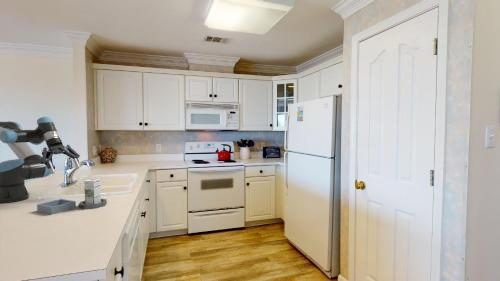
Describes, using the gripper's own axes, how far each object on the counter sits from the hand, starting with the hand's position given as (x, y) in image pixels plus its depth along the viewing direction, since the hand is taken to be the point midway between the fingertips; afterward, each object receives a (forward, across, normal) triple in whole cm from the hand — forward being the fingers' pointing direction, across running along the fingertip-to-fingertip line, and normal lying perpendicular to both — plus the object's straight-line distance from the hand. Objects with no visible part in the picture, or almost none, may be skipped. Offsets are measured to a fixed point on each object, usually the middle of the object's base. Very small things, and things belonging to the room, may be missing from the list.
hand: (66, 170), depth 159 cm
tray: (+22, -14, -4) cm, 27 cm away
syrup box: (+28, 0, -10) cm, 30 cm away
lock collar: (+28, 0, -11) cm, 30 cm away
